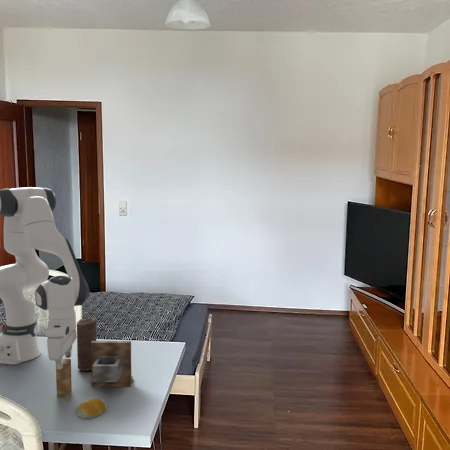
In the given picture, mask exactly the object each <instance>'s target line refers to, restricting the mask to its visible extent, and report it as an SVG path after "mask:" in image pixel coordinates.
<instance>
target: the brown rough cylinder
mask: <svg viewBox="0 0 450 450" xmlns="http://www.w3.org/2000/svg"><path fill="white" fill-rule="evenodd" d="M92 341H97V321H96V318H93V317H92V318H80V319H79V320H78V321H76V346H77V349H76V350H77V351H76V352H77V354H76V355H77V356H76V357H77V369H78V370H82V371H85V372H86V371H87V372H88V371H92V358H91V342H92Z"/></svg>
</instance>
